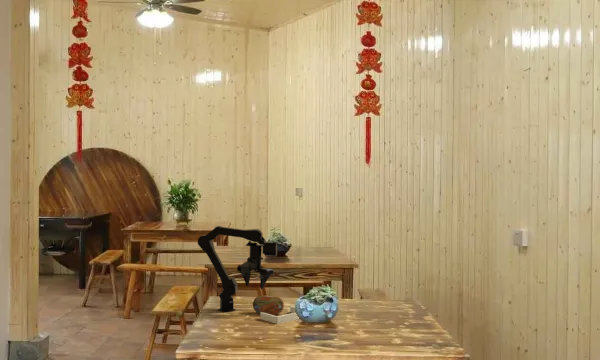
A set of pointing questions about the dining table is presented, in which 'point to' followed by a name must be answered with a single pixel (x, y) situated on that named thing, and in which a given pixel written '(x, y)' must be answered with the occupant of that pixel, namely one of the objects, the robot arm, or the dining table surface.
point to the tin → (268, 305)
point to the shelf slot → (280, 317)
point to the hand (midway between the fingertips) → (254, 287)
